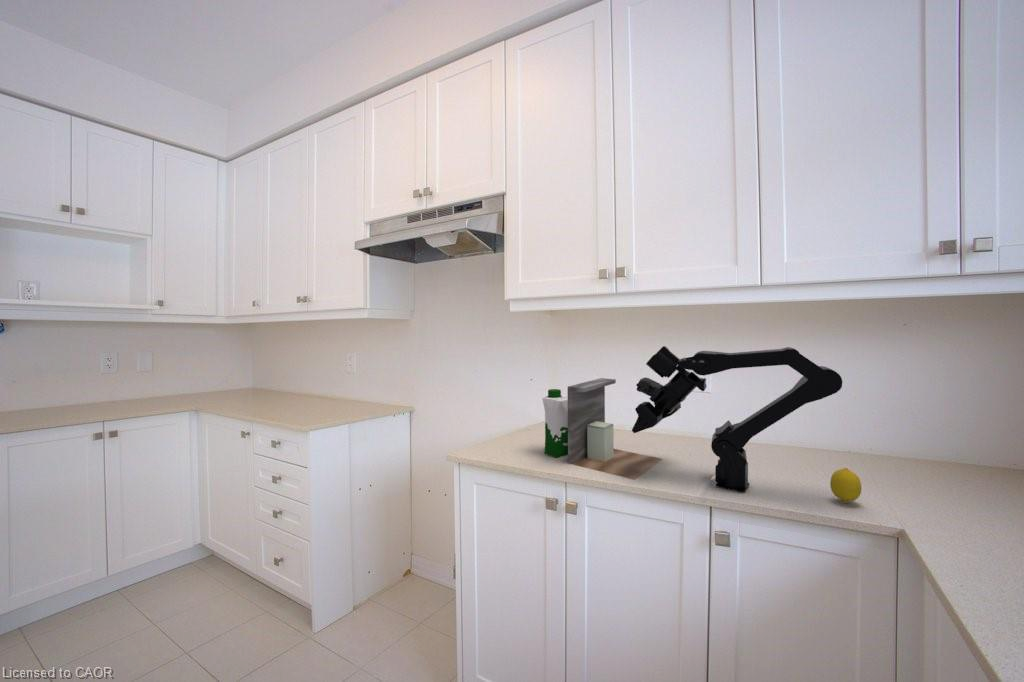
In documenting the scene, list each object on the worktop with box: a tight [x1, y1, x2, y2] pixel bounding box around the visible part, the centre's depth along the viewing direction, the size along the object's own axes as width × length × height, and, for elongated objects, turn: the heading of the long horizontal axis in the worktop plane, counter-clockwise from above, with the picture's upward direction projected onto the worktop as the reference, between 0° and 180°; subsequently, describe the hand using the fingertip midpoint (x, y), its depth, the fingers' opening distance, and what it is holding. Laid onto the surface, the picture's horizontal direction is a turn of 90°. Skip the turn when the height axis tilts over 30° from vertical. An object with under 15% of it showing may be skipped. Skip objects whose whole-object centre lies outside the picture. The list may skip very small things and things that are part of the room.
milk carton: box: [542, 388, 568, 459], centre depth 132 cm, size 9×9×20 cm
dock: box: [567, 377, 663, 480], centre depth 122 cm, size 20×20×23 cm
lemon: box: [829, 467, 862, 504], centre depth 95 cm, size 6×6×8 cm
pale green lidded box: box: [587, 421, 615, 462], centre depth 126 cm, size 6×6×10 cm
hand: (640, 427), depth 119 cm, fingers open, 9 cm apart
